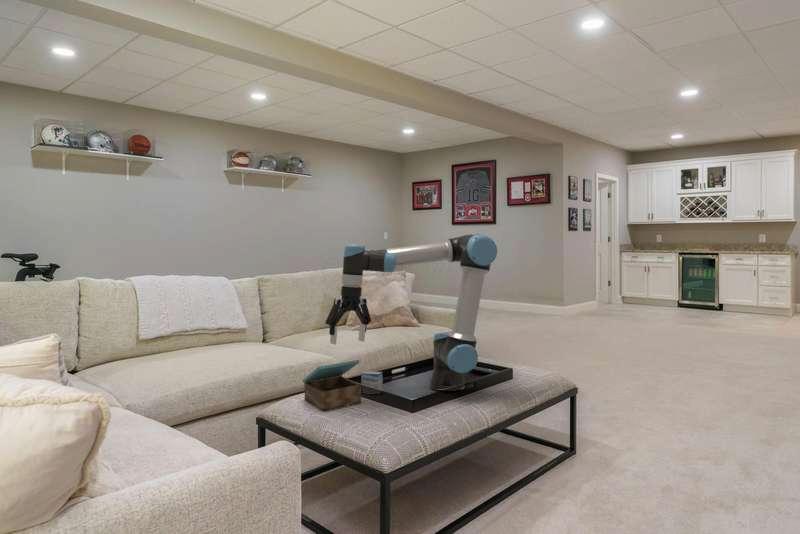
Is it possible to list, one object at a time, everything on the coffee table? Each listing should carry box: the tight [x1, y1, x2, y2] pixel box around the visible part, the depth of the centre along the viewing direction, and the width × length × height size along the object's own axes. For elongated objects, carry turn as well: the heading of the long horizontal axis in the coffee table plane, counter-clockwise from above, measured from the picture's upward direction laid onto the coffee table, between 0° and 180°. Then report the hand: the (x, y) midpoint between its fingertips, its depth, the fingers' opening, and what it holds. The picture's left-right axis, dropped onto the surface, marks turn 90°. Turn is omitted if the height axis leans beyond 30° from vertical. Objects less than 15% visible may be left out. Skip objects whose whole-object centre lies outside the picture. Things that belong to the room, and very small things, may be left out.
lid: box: [302, 359, 360, 383], centre depth 202 cm, size 17×17×1 cm
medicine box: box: [360, 370, 384, 391], centre depth 213 cm, size 8×4×9 cm, turn 76°
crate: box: [303, 375, 362, 412], centre depth 202 cm, size 16×16×7 cm
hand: (347, 342), depth 196 cm, fingers open, 13 cm apart
